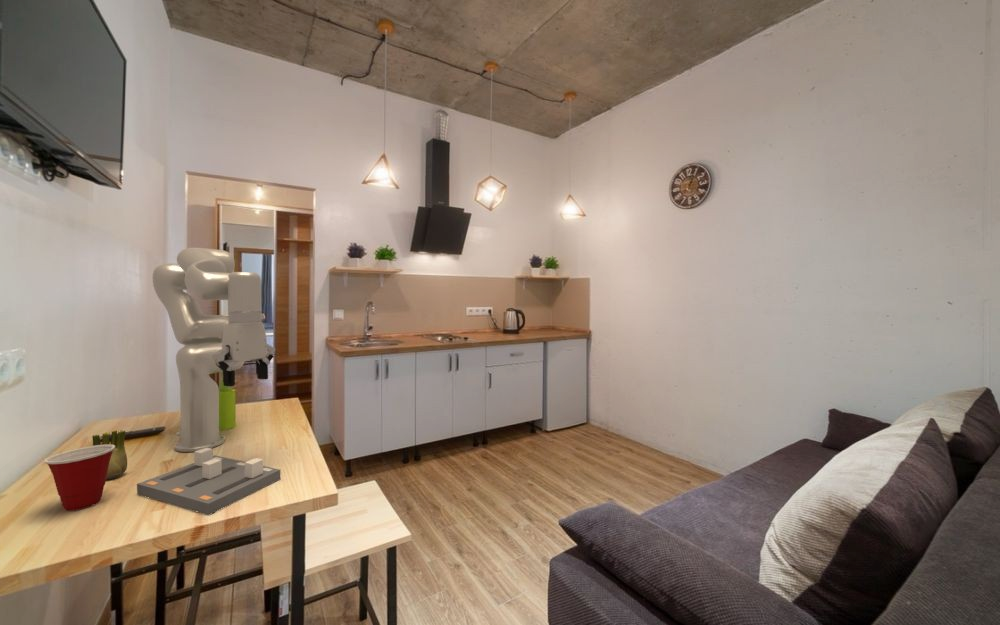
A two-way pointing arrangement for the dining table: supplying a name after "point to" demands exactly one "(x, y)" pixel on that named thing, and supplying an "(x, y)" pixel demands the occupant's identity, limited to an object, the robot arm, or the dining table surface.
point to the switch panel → (206, 486)
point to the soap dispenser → (226, 407)
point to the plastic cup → (80, 475)
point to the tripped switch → (211, 468)
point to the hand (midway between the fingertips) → (246, 382)
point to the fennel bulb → (114, 452)
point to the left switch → (203, 456)
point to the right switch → (253, 468)
